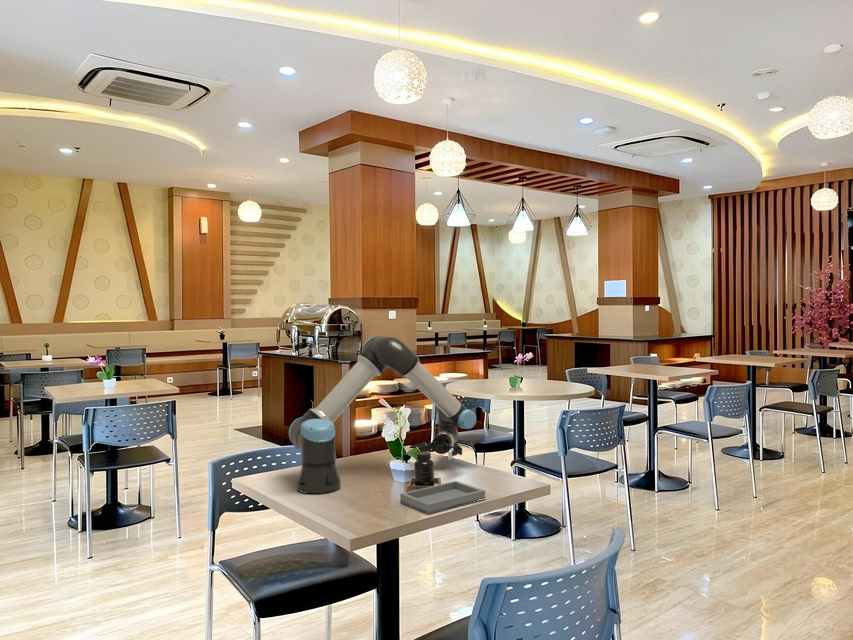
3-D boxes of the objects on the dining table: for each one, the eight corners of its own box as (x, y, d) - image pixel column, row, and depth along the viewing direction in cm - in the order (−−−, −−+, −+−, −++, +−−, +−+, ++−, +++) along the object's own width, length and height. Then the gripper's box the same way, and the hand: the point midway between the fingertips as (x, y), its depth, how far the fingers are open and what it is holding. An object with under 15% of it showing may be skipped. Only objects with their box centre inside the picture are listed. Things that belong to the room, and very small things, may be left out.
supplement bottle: (413, 485, 219) (412, 451, 219) (431, 483, 220) (431, 450, 220) (416, 490, 212) (416, 455, 212) (436, 489, 214) (435, 454, 213)
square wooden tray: (410, 482, 222) (410, 477, 222) (440, 482, 221) (440, 477, 221) (407, 491, 211) (407, 486, 211) (439, 491, 210) (439, 486, 210)
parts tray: (400, 502, 199) (400, 493, 199) (455, 489, 213) (455, 480, 213) (428, 514, 187) (428, 504, 187) (485, 499, 201) (485, 490, 201)
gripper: (474, 452, 243) (465, 466, 223) (412, 451, 249) (398, 464, 229) (473, 433, 243) (464, 446, 223) (412, 432, 249) (397, 444, 228)
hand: (430, 455), depth 226 cm, fingers open, 13 cm apart
